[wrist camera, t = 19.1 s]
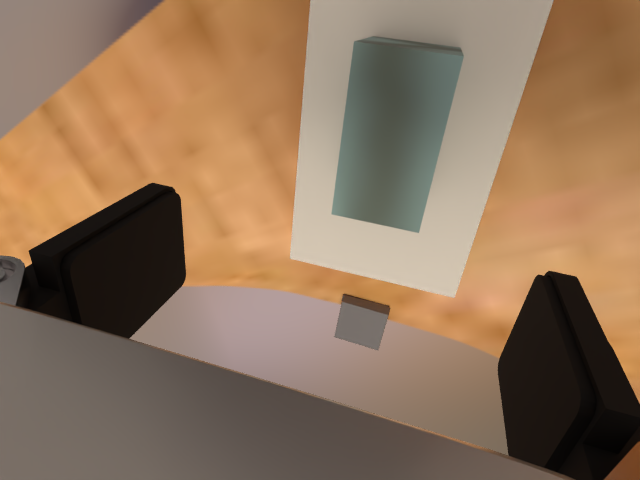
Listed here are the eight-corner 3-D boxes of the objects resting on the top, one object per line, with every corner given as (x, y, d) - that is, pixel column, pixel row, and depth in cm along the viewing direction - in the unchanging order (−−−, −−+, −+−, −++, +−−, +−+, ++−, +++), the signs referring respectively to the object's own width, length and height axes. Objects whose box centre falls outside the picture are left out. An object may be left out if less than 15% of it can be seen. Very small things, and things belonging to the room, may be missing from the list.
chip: (390, 308, 35) (388, 315, 34) (379, 342, 37) (378, 350, 36) (344, 295, 36) (342, 301, 35) (336, 329, 38) (334, 336, 37)
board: (580, -105, 21) (592, -116, 19) (454, 283, 33) (454, 297, 31) (330, -121, 23) (320, -132, 21) (297, 246, 35) (289, 258, 33)
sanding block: (460, 47, 23) (463, 56, 18) (424, 193, 28) (418, 233, 23) (373, 35, 24) (353, 41, 19) (352, 179, 29) (331, 214, 24)
